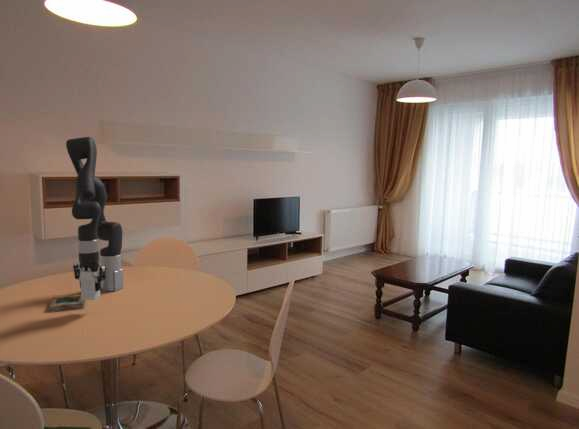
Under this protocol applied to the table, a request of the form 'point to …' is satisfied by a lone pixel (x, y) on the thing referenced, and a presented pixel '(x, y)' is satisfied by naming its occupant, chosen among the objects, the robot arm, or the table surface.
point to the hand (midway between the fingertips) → (90, 289)
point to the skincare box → (88, 286)
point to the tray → (66, 303)
